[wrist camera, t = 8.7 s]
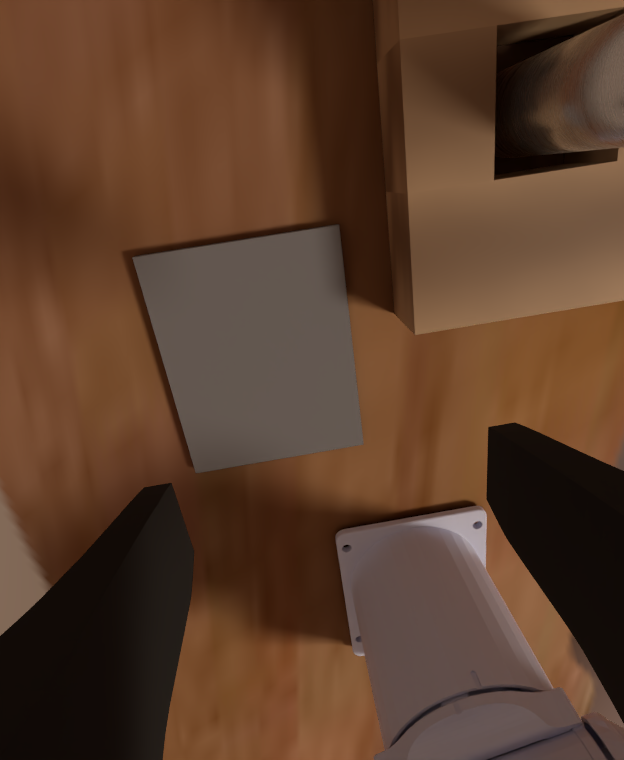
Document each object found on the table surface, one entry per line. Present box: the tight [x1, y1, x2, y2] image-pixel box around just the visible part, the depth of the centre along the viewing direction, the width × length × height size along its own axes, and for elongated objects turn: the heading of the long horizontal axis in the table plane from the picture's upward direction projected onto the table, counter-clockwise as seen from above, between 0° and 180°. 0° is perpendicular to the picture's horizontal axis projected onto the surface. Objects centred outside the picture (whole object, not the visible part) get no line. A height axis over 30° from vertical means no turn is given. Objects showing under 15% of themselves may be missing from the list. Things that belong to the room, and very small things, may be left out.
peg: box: [494, 14, 624, 158], centre depth 13 cm, size 3×3×9 cm
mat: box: [133, 224, 363, 473], centre depth 20 cm, size 10×8×1 cm
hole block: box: [372, 0, 624, 335], centre depth 16 cm, size 14×10×3 cm
